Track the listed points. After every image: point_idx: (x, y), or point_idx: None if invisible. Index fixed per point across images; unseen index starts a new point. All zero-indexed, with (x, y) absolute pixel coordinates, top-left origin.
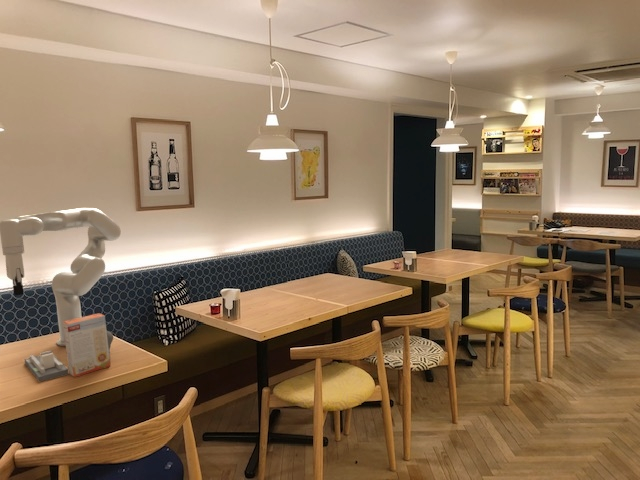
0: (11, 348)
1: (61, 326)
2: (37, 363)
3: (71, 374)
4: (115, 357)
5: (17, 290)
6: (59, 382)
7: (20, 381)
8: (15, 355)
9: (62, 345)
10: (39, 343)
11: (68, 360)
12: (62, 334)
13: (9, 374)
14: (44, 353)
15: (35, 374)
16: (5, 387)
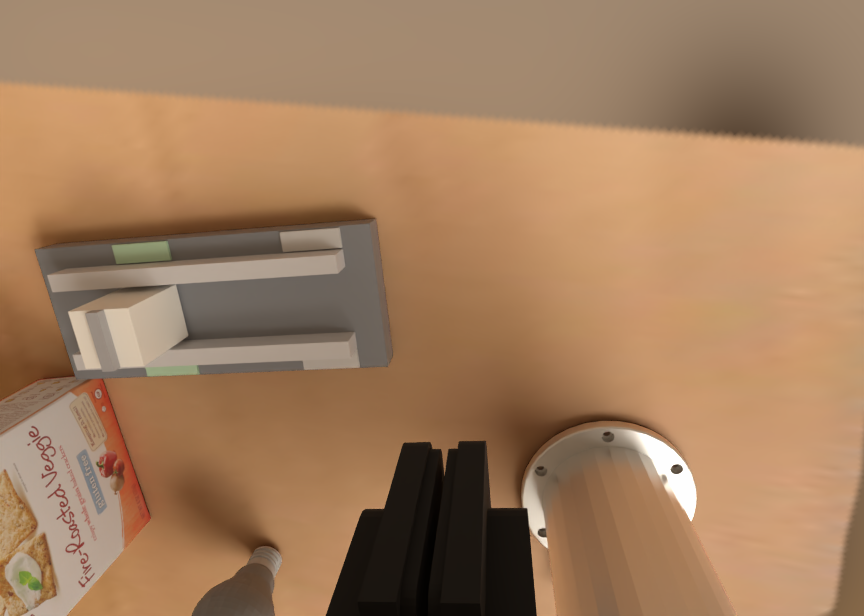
0: (779, 180)
1: (595, 521)
2: (154, 272)
3: (64, 377)
4: (204, 565)
5: (353, 557)
6: (10, 317)
7: (109, 164)
8: (591, 187)
9: (554, 437)
10: (732, 344)
11: (25, 407)
12: (584, 484)
13: (249, 122)
14: (93, 329)
15: (116, 241)
16: (59, 87)
